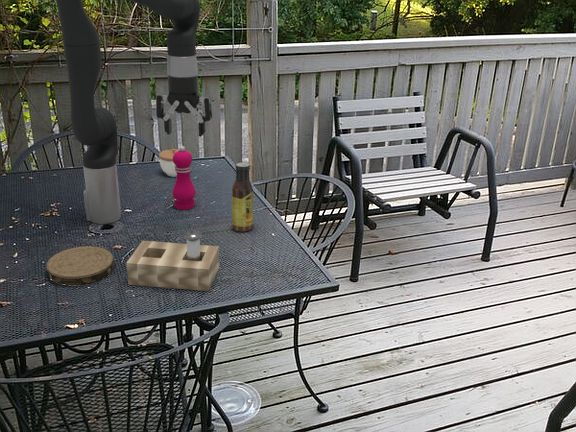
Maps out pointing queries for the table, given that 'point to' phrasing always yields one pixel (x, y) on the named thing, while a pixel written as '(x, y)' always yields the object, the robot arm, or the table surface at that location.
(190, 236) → the clevis pin
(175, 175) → the lidded jar
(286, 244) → the table surface
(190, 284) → the hole block
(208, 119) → the robot arm
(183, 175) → the pepper mill
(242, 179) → the sauce bottle
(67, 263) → the cork coaster
